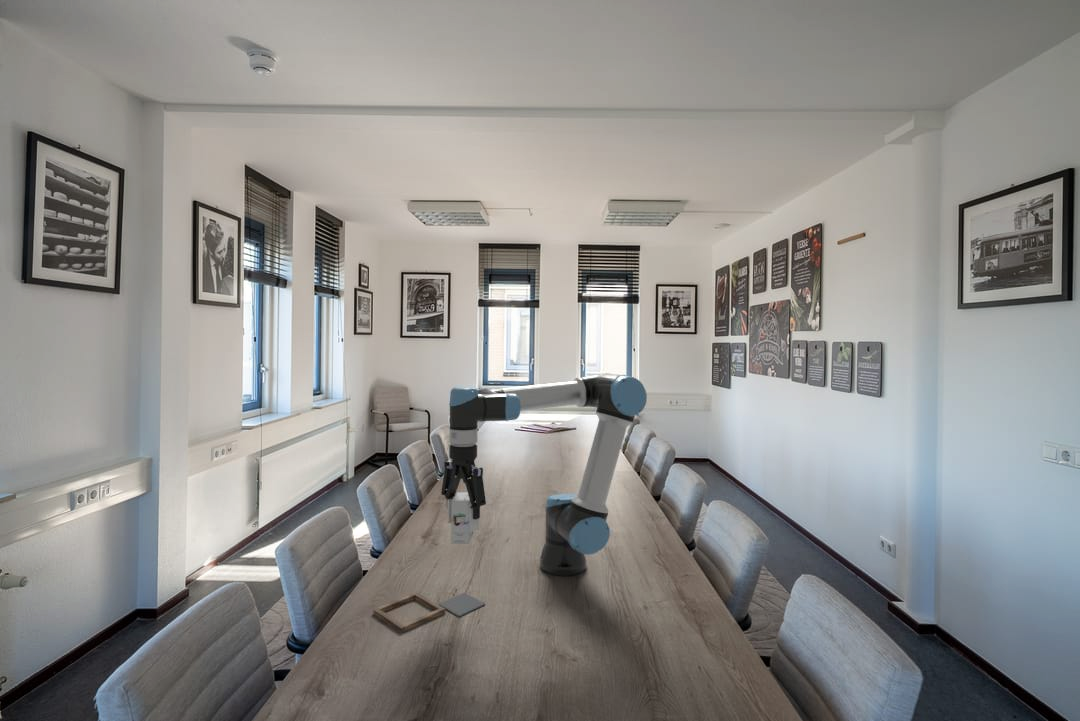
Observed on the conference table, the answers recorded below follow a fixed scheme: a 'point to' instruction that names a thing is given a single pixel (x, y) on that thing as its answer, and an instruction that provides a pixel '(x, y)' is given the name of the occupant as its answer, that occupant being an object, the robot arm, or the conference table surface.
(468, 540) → the ink box
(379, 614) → the walnut holder
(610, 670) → the conference table surface
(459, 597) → the felt mat
